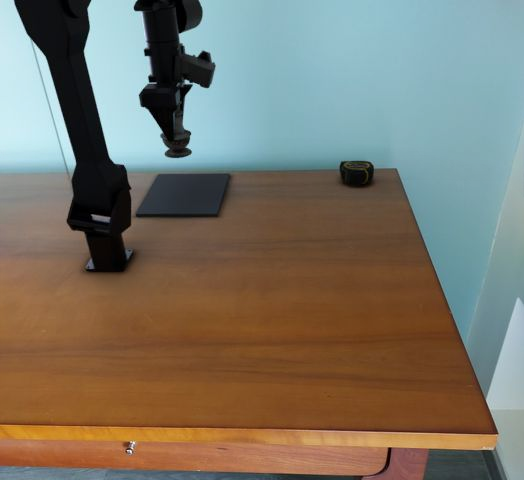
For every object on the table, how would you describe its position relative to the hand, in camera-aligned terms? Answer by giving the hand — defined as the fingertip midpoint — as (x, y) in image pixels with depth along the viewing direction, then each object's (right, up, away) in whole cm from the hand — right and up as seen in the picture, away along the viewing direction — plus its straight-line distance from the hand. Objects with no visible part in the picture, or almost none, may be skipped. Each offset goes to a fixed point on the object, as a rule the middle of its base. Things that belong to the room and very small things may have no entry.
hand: (175, 134), depth 99 cm
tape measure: (+36, -5, +12) cm, 38 cm away
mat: (+1, -9, +10) cm, 13 cm away
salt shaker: (0, -3, +2) cm, 4 cm away
